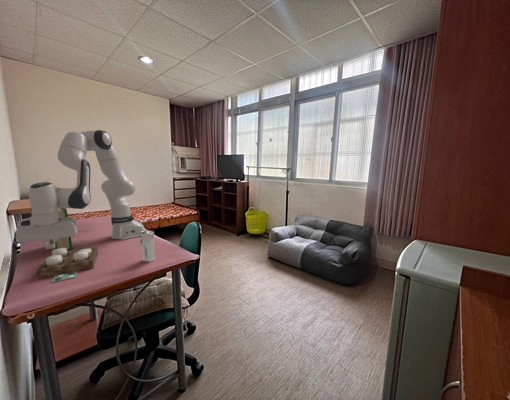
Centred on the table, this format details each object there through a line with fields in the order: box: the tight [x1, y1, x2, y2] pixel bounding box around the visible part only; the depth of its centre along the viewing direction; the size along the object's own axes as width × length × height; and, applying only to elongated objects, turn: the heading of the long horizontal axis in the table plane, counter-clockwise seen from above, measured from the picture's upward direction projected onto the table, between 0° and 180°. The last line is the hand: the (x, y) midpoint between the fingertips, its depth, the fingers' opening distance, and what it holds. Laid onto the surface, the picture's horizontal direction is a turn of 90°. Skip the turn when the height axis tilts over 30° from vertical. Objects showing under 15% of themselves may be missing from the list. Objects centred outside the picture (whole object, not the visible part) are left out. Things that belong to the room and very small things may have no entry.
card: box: [51, 271, 79, 284], centre depth 98 cm, size 8×6×1 cm
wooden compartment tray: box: [36, 246, 99, 280], centre depth 110 cm, size 20×20×4 cm
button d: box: [44, 255, 63, 267], centre depth 102 cm, size 6×6×3 cm
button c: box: [73, 251, 89, 262], centre depth 107 cm, size 6×6×3 cm
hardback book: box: [48, 208, 73, 251], centre depth 129 cm, size 18×7×24 cm, turn 50°
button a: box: [78, 248, 92, 253], centre depth 116 cm, size 6×6×3 cm
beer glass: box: [139, 229, 156, 263], centre depth 114 cm, size 7×7×15 cm
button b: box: [51, 248, 68, 257], centre depth 111 cm, size 6×6×3 cm
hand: (50, 248), depth 101 cm, fingers closed
